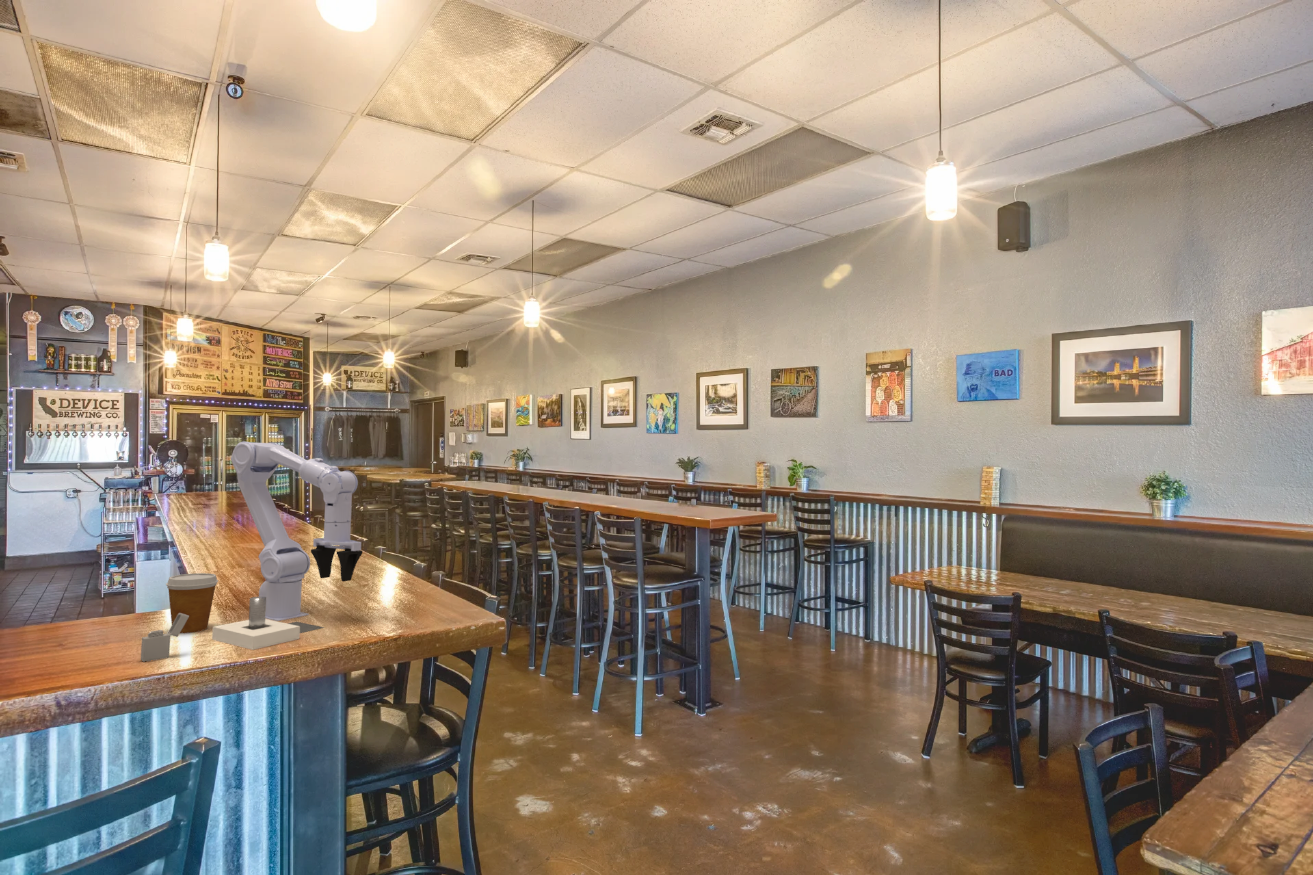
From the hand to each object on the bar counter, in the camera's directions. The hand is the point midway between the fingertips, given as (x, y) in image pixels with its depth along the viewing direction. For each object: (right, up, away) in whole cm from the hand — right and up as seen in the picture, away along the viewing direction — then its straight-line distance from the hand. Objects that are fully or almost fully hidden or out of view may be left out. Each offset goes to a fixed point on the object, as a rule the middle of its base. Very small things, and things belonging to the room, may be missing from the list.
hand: (335, 579), depth 160 cm
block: (-8, -9, -18) cm, 22 cm away
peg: (-8, -9, -18) cm, 22 cm away
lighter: (-18, -9, -30) cm, 37 cm away
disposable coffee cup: (-27, -9, -12) cm, 31 cm away
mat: (-6, -10, -8) cm, 14 cm away
